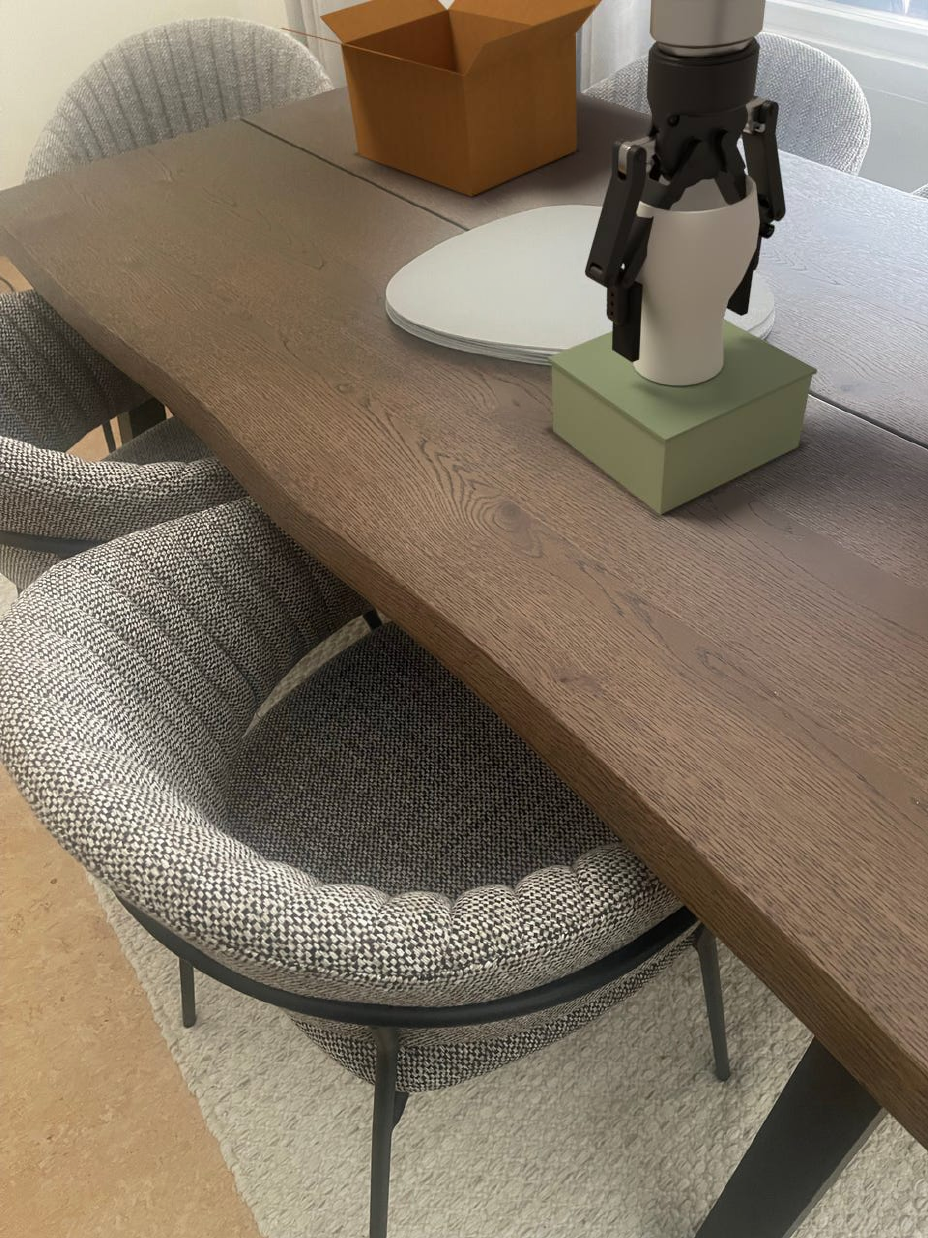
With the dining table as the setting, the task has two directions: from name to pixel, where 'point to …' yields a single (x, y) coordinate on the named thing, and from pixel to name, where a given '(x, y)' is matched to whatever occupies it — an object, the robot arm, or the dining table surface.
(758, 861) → the dining table surface
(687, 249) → the cup
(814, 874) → the dining table surface
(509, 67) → the box
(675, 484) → the green flat-topped block
